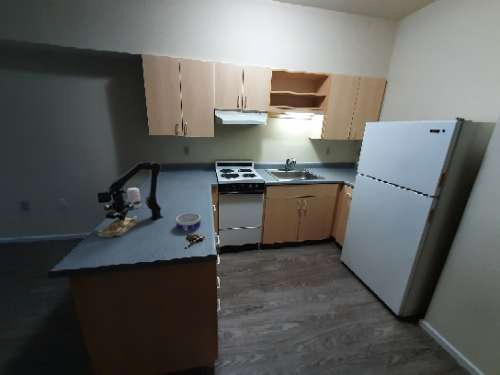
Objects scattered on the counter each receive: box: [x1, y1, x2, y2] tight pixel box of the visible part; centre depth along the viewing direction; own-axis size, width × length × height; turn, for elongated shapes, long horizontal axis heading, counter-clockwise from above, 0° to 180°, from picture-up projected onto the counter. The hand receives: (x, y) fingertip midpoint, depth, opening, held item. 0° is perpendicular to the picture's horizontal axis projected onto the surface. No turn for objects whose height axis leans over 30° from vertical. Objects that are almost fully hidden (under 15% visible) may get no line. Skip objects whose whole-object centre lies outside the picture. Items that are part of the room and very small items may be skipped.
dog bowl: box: [175, 212, 202, 232], centre depth 140 cm, size 15×15×6 cm
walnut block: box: [109, 219, 124, 230], centre depth 134 cm, size 6×4×4 cm, turn 173°
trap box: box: [97, 215, 138, 238], centre depth 135 cm, size 24×12×3 cm, turn 173°
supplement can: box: [126, 187, 142, 210], centre depth 165 cm, size 8×8×15 cm
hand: (122, 222), depth 139 cm, fingers closed
